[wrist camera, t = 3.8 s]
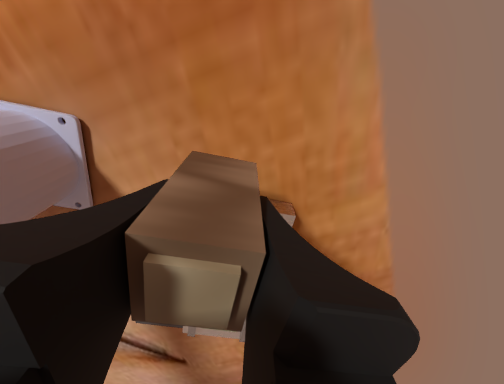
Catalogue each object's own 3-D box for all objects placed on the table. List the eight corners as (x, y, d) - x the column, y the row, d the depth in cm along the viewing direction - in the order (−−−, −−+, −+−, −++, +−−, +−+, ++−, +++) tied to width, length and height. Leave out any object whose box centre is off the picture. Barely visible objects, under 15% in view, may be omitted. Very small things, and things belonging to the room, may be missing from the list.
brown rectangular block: (188, 205, 13) (126, 330, 6) (192, 150, 11) (117, 241, 5) (244, 215, 13) (241, 341, 7) (256, 163, 12) (266, 262, 5)
